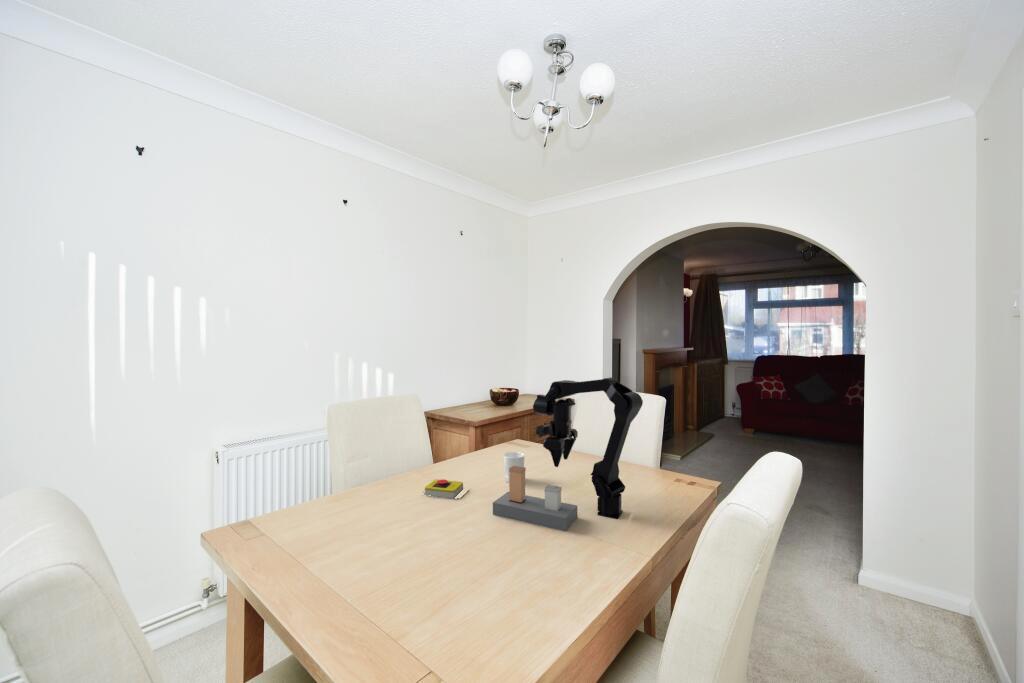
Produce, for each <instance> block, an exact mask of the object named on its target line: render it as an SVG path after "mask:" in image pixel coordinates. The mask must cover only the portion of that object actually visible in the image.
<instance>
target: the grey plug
mask: <svg viewBox="0 0 1024 683" xmlns="http://www.w3.org/2000/svg"><path fill="white" fill-rule="evenodd" d="M544 499H545V509H549V510H553V511H559V510H560V509H561V502H562V486H559V485H554V484H547V485H546V486H545V487H544Z"/></svg>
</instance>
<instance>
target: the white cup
mask: <svg viewBox="0 0 1024 683" xmlns="http://www.w3.org/2000/svg"><path fill="white" fill-rule="evenodd" d="M503 466H504V467H503V469H504V481H505V482H506V483H508V484H509V468H511V467H512V466H519V467H525V454H524V453H523V452H518V451H509V452H505V453H504V454H503Z"/></svg>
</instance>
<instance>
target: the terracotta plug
mask: <svg viewBox="0 0 1024 683" xmlns="http://www.w3.org/2000/svg"><path fill="white" fill-rule="evenodd" d="M526 471H527V470H526V467H525V466H524V467H519V466H512V467H511V468H509V483H508V484H509V487H508V488H509V489H508V490H509V491H508V492H509V500H511V501H516V502H522V501H523V500H525V495H526Z"/></svg>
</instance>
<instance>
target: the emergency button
mask: <svg viewBox="0 0 1024 683" xmlns="http://www.w3.org/2000/svg"><path fill="white" fill-rule="evenodd" d="M463 489H464V483H463V481H456V480H447V479H437V478H436V479H433V480H432V481H431V482H429V483H428V484H427V485H425V486H424V491H425V492H424V491H423V492H424V495H431V496H430V497H432V496H437V497H436V498H441V497H447V498H446V499H450V498H455V497H456V496H457V495H458V494H459V493H460V492H461V491H462V490H463Z"/></svg>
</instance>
